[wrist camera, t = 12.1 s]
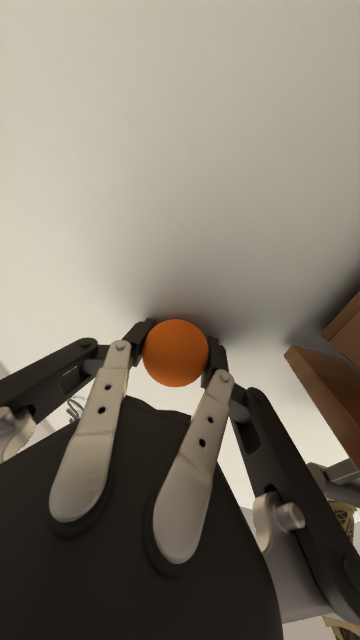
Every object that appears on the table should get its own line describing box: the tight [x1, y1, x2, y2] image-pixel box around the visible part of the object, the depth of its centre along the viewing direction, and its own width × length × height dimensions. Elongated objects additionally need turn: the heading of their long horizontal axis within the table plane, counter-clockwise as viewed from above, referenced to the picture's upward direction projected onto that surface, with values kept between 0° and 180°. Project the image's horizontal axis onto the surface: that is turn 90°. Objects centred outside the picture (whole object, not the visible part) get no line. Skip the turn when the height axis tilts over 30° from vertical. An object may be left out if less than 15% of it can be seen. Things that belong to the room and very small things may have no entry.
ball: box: [142, 319, 209, 387], centre depth 11 cm, size 5×5×5 cm
